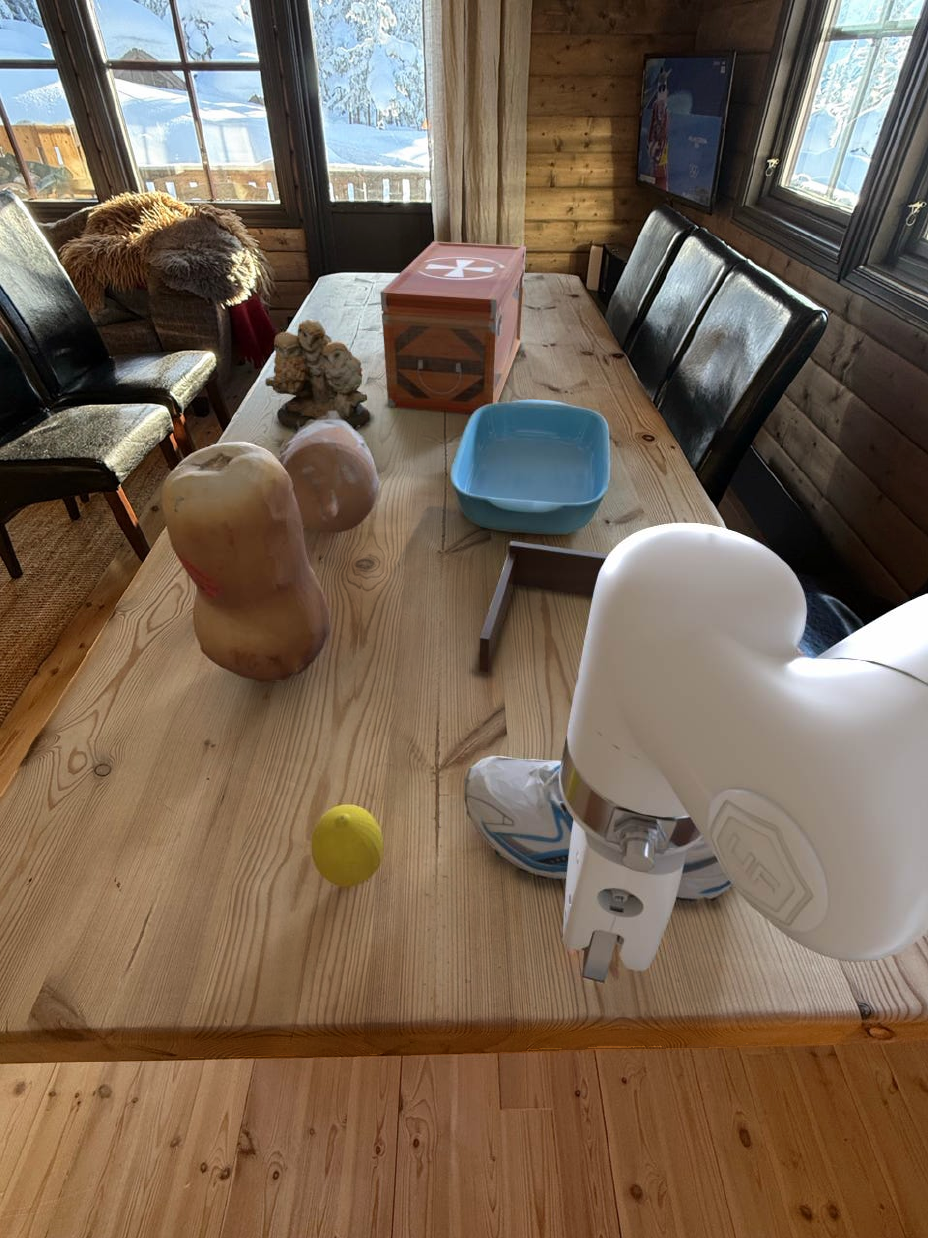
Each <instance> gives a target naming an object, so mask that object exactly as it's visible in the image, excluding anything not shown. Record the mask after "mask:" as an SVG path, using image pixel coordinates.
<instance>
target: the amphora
mask: <svg viewBox="0 0 928 1238" xmlns="http://www.w3.org/2000/svg"><path fill="white" fill-rule="evenodd" d="M277 460H278V461H279V462H280V463H281V465H282V466H283V468H284V469H285V470H286V472H287V473H288V474H289V476H290V478H291V481H292V484H293V492H294V495H295V498H296V501H297V505H298V508H299V512H300V515H301V519H302V526H303V528H305V529H307V530H309V531H311V532H313V533H318V534H341V533H345V532H348V531H351V530H353V529H354V528H356V527H358V526H360V524H362V522H364V520H366V519H367V517H368V516H369V515H370V513H371V512H372V510H373V509H374V507H376V504H377V499H378V495H379V491H380V480H379V475H378V471H377V467H376V464H375V460H374V457H373V455H372V452H371V451H370V449H369V447H368V445H367V443H366V440H365V438H364V437H363V436H362V435H361V434H360V433H359V432H358V431H356V429H353V428H352V426H350V425H349V424H348V423H347V422H346V421H344V420H343V419H341V418H340V416H339V414H338V412H337V411H328V412H327V414H326V415H324V416H321V417H319V418H318V419H316V420H312V419H311V420H309V421H307V422H306V424H305V425H304V426H303V427H301V428H300V427H299V428H298V429H297V430H296V432H295V433H294V434H293V436H291V438H290V441H289V442H287V443H286V444H285V445H284V447H283V448H282V449H280V450H279V458H277Z"/></svg>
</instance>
